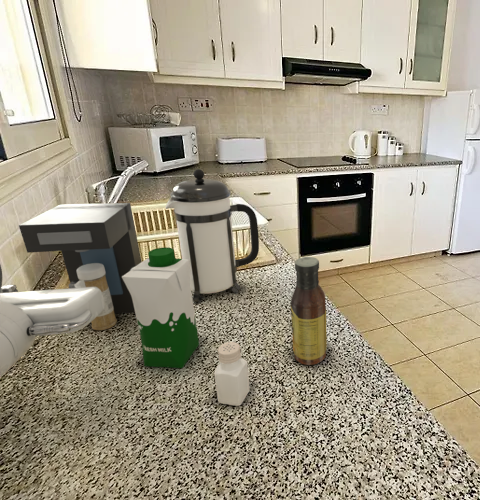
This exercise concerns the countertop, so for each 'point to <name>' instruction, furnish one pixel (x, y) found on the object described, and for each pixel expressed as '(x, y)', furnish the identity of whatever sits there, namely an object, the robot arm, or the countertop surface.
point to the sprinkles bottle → (96, 278)
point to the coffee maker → (89, 242)
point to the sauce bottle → (308, 314)
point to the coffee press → (209, 234)
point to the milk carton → (164, 308)
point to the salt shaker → (231, 375)
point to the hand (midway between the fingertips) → (46, 286)
